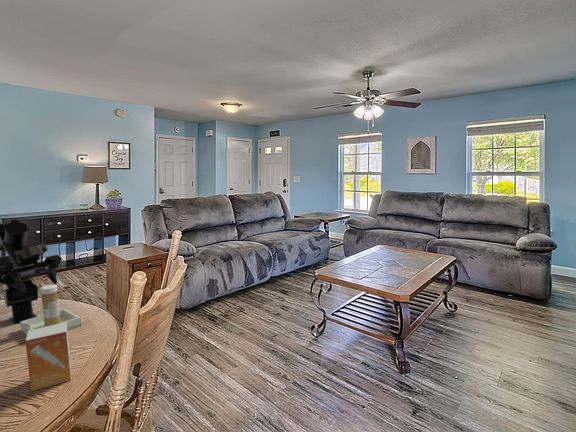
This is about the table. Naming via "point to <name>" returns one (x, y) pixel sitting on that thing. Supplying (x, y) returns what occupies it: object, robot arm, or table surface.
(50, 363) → the small box
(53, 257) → the robot arm
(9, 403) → the table surface
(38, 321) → the tray
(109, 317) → the table surface
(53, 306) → the sprinkles bottle
